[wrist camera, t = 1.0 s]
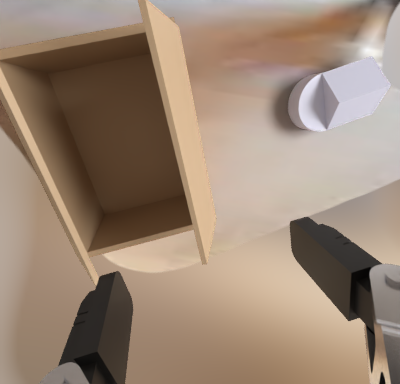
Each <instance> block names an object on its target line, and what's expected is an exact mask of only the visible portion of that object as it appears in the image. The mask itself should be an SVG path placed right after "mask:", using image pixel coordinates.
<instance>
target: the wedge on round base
mask: <svg viewBox="0 0 400 384" xmlns="http://www.w3.org/2000/svg"><path fill="white" fill-rule="evenodd" d="M390 86H391V84H390V83H389V81H388V80H387V78H386V77H385V75H384V74H383V72H382V71H381V69H380V68H379V66H378V65H377V63H376V62H375V60H374V59H373V57H372V56H371V57H368V58H365V59H362V60H359V61H356V62H353V63H350V64H347V65H344V66H341V67H338V68H336V69H333V70H330V71H327V72H324V73H318V74H312V75H309V76H306V77H305V78H303V79H301V80H300V81H299V82H298V83H297V84H296V85H295V87H294V88H293V90H292V92H291V94H290V97H289V101H288V113H289V116H290V119H291V120H292V122H293V123H294V124H295V125H296V126H297V127H299V128H302V129H306V130H312V131H326V130H329V129H331V128H334V127H337V126H340V125H343V124H346V123H348V122H351V121H354V120H357V119H360V118H363V117H365V116H368V115H371V114H373V112H374V111H375V109H376V108H377V106H378V105H379V103H380V101H381V100H382V98H383V97H384V95H385V94H386V92H387V91H388V89H389V87H390Z"/></svg>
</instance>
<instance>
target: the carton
mask: <svg viewBox="0 0 400 384" xmlns="http://www.w3.org/2000/svg"><path fill="white" fill-rule="evenodd" d="M169 19H170V20H171V21H173V22H174V23H175V21H174V17H171V18H169ZM0 68H1V70H2V72H3V75H4V77H5V79H6V81H7V83H8V85H9V87H10V90H11V92H12V94H13V96H14V98H15V100H16V102H17V104H18V107H19V109H20V111H21V113H22V115H23V117H24V119H25V122H26V124H27V126H28V128H29V130H30V132H31V134H32V137H33V139H34V141H35V143H36V145H37V147H38V149H39V151H40V154H41V156H42V158H43V160H44V162H45V164H46V166H47V169H48V171H49V173H50V175H51V177H52V179H53V181H54V183H55V186H56V188H57V190H58V192H59V194H60V196H61V198H62V201H63V203H64V205H65V207H66V209H67V211H68V213H69V216H70V218H71V220H72V222H73V224H74V226H75V228H76V230H77V233H78V235H79V237H80V239H81V241H82V243H83V245H84V248H85V250H86V252H87V254H88V256H89V257H93V256H96V255H100V254H104V253H108V252H111V251H115V250H119V249H123V248H126V247H130V246H134V245H138V244H141V243H145V242H149V241H153V240H156V239H160V238H164V237H168V236H171V235H175V234H179V233H183V232H186V231H190V230H194V228H193V224H192V220H191V216H190V212H189V208H188V204H187V200H186V195H185V191H184V187H183V183H182V179H181V175H180V171H179V167H178V163H177V159H176V154H175V150H174V146H173V142H172V138H171V134H170V130H169V126H168V122H167V118H166V113H165V109H164V105H163V101H162V97H161V93H160V89H159V85H158V81H157V76H156V72H155V68H154V64H153V60H152V56H151V52H150V48H149V44H148V40H147V35H146V31H145V27H144V23H139V24H134V25H128V26H123V27H118V28H112V29H107V30H102V31H96V32H91V33H85V34H80V35H75V36H69V37H64V38H59V39H53V40H48V41H42V42H37V43H32V44H26V45H21V46H16V47H10V48H5V49H0Z"/></svg>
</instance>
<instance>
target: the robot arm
mask: <svg viewBox="0 0 400 384" xmlns="http://www.w3.org/2000/svg"><path fill="white" fill-rule="evenodd" d="M290 233H291V234H290V235H291V246H292V247H291V248H292V252H293V255H294V257H295V259H296V260H297V262H298V263H299V264H300V265H301V266H302V268H303V269H304V270H305V271H306V272H307V273H308V274H309V276H310V277H311V278H312V279H313V280H314V282H315V283H316V284H317V285H318V286H319V287H320V288H321V290H322V291H323V292H324V293H325V294H326V295H327V297H328V298H329V299H330V300H331V301H332V302H333V304H334V305H335V306H336V307H337V308H338V309H339V311H340V312H341V313H342V314H343V315H344V316H345V317H346V319H347V320H348V321H351V320H354V319H357V318H360V319H361V320H362V321H363V322H364V323H365V327H364V328H365V329H364V330H365V338H366V349H367V359H368V369H369V378H370V384H400V266H398V265H393V264H382V263H380V262H379V261H378V260H376V259H375V258H374V257H372V256H371V255H370V254H368V253H367V252H365V251H364V250H363V249H361V248H360V247H359V246H357V245H356V244H355V243H353V242H351V241H350V240H349V239H348V238H346V237H344V236H343V235H342V234H341V233H339V232H338V231H337V230H336V229H334V228H332V227H329V226H326V225H324V224H320V225H318V224H317V223H315V222H314V221H313V220H312V219H310V218H309V217H304V218H300V219H297V220H294V221H291V222H290ZM132 315H133V304H132V298H131V296H130V293H129V291H128V289H127V287H126V285H125V282H124V280H123V278H122V276H121V274H120V272H118V271H116V272H113V273H109V274H106V275H102V276H100V278H99V280H98V283H97V286H96V289H95V290H94V291H91V292H89V293H88V295H87V296H86V297H85V299H84V300H83V301H82V303H81V305H80V308H79V310H78V313H77V317H76V319H75V321H74V326H73V327H72V330H71V332H70V335H69V338H68V340H67V343H66V346H65V349H64V352H63V354H62V357H61V360H60V362H59V365H58V367H56V368H55V369H53V370H52V371H51V372H49V373H48V374H47V375H46V376H45V377H44V378H43V380H42V381H41V382H40V383H39V384H125V378H126V369H127V360H128V351H129V341H130V333H131V324H132Z"/></svg>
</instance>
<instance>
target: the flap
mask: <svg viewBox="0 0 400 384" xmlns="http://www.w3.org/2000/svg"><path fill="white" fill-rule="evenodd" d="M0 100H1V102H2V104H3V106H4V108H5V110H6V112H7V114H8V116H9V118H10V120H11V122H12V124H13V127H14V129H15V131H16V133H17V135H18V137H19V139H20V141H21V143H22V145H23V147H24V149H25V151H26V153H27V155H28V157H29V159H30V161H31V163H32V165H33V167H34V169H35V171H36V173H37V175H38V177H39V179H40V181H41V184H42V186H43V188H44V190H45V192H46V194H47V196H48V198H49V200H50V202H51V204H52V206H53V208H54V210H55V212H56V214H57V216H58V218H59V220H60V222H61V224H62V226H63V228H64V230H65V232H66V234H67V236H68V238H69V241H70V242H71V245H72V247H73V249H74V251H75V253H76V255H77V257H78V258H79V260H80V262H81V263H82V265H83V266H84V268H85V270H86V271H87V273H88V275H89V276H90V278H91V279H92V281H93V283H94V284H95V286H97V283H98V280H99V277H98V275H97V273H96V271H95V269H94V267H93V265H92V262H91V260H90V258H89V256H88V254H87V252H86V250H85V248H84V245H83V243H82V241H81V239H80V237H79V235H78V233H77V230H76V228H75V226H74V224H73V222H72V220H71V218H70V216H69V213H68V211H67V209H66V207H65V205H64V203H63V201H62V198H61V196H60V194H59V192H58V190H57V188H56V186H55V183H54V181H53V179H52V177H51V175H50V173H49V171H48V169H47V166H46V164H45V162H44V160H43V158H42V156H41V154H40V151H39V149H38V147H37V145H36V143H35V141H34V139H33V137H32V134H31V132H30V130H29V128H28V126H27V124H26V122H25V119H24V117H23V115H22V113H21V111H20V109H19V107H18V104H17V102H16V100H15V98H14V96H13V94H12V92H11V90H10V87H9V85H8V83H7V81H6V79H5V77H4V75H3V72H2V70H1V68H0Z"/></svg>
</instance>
